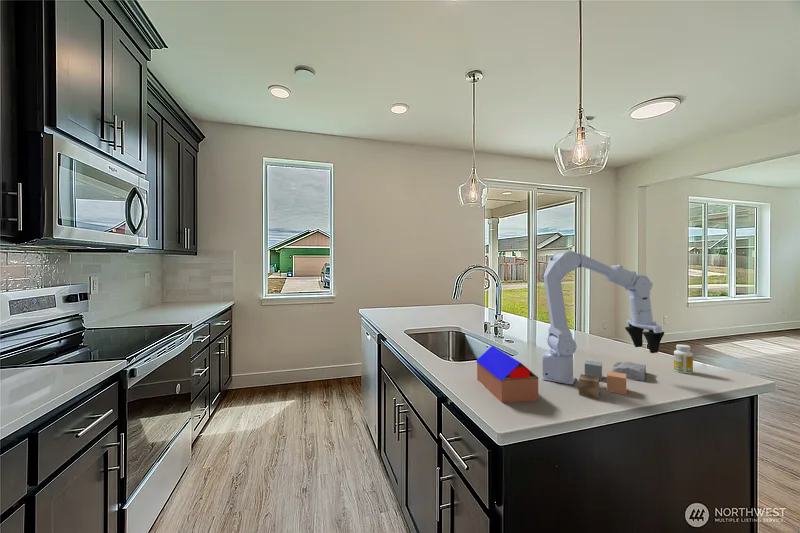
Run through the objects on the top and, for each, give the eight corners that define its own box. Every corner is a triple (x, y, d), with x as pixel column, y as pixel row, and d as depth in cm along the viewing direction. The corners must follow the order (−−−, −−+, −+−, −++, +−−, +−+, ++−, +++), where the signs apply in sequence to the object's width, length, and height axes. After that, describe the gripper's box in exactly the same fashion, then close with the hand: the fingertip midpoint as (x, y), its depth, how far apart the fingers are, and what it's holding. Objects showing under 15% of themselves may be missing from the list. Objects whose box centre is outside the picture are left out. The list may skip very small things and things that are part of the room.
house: (508, 378, 117) (508, 345, 117) (540, 401, 98) (539, 361, 98) (475, 379, 116) (475, 346, 116) (501, 404, 96) (501, 363, 96)
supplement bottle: (691, 370, 123) (691, 344, 123) (694, 375, 118) (694, 348, 118) (672, 368, 126) (672, 343, 126) (675, 372, 121) (675, 346, 121)
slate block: (584, 377, 117) (584, 363, 117) (586, 374, 121) (585, 360, 121) (601, 380, 114) (601, 366, 114) (602, 376, 118) (602, 362, 118)
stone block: (612, 382, 118) (647, 382, 112) (609, 368, 118) (643, 367, 112) (616, 374, 127) (648, 374, 121) (613, 361, 128) (644, 360, 122)
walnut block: (578, 395, 102) (578, 378, 102) (580, 389, 106) (580, 374, 106) (597, 398, 99) (597, 381, 99) (599, 393, 103) (599, 377, 103)
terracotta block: (607, 391, 104) (606, 375, 104) (607, 386, 109) (607, 371, 109) (626, 394, 102) (626, 378, 102) (626, 389, 106) (626, 373, 106)
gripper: (669, 311, 106) (674, 353, 106) (638, 305, 120) (643, 343, 120) (646, 314, 106) (652, 356, 106) (618, 308, 120) (623, 345, 120)
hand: (646, 349), depth 113 cm, fingers open, 7 cm apart
